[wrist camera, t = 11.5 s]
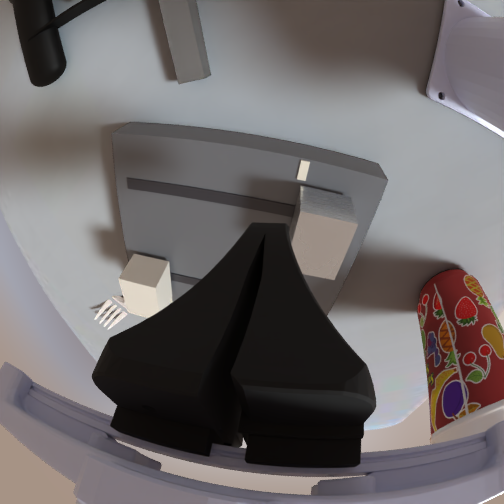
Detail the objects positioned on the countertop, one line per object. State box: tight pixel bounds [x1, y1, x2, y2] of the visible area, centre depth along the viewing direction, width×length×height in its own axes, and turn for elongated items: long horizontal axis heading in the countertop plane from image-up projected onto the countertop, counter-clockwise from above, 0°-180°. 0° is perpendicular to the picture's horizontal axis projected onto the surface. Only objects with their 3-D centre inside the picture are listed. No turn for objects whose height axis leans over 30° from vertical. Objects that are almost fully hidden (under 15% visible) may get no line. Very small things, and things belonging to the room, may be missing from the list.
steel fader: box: [289, 186, 358, 280], centre depth 16 cm, size 3×4×3 cm
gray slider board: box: [112, 122, 388, 316], centre depth 21 cm, size 17×15×3 cm
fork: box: [95, 296, 127, 330], centre depth 29 cm, size 3×20×2 cm, turn 131°
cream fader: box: [119, 254, 172, 318], centre depth 22 cm, size 3×4×3 cm
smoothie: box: [417, 269, 504, 444], centre depth 16 cm, size 8×8×20 cm
